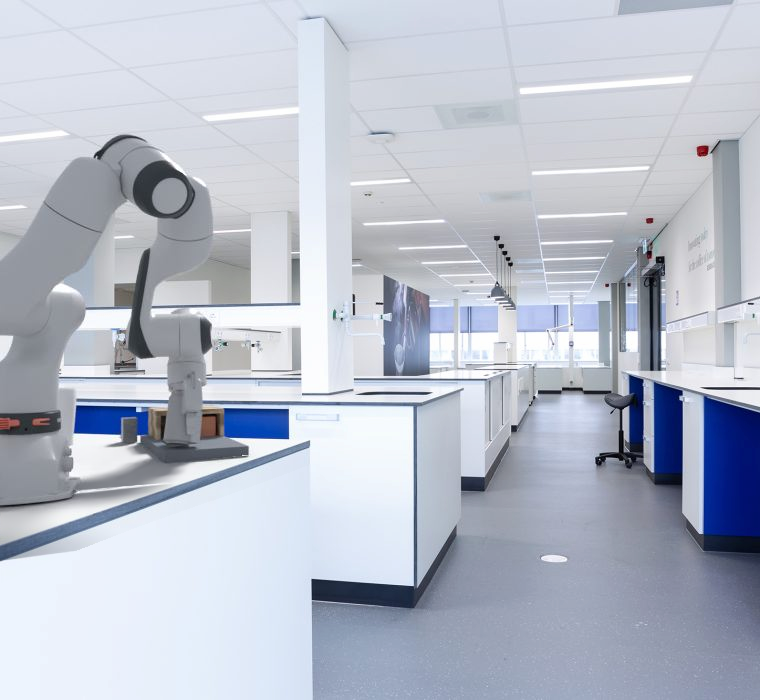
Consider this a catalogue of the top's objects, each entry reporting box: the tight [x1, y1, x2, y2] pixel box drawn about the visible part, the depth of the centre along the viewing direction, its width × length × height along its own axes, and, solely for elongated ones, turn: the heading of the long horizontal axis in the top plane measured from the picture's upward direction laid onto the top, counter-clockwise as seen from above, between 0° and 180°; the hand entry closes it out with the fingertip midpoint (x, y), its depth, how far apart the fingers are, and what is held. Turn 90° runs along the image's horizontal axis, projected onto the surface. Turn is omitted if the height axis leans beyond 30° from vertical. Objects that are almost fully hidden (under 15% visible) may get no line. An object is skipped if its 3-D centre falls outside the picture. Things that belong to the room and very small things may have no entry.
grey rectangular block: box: [191, 412, 202, 443], centre depth 169 cm, size 21×8×7 cm, turn 28°
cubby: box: [147, 404, 225, 440], centre depth 183 cm, size 12×17×7 cm
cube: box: [200, 415, 216, 437], centre depth 183 cm, size 5×5×5 cm
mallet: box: [119, 416, 138, 444], centre depth 188 cm, size 14×4×7 cm, turn 28°
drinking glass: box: [58, 387, 77, 447], centre depth 179 cm, size 7×7×15 cm
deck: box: [139, 434, 250, 464], centre depth 173 cm, size 34×19×2 cm, turn 28°
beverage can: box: [163, 391, 192, 446], centre depth 161 cm, size 6×6×12 cm
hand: (188, 436), depth 161 cm, fingers closed on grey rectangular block, 3 cm apart
